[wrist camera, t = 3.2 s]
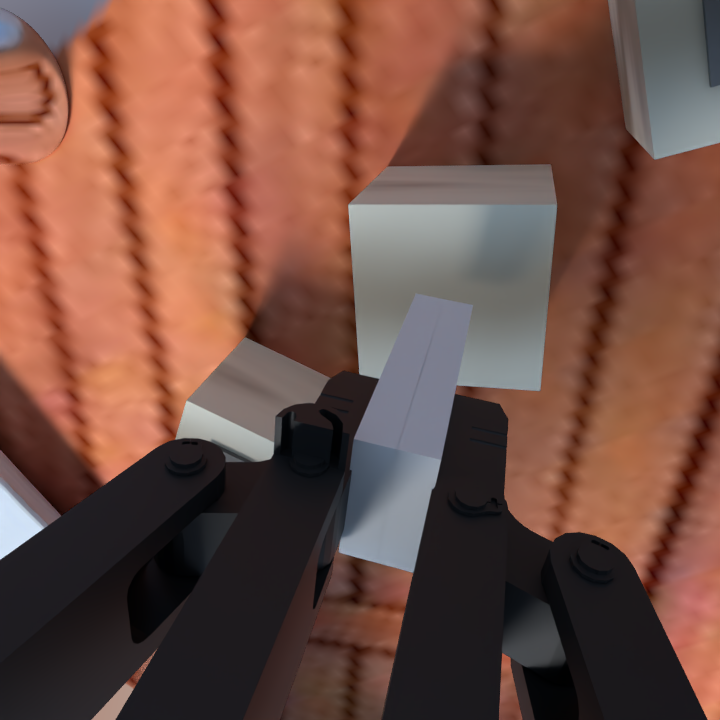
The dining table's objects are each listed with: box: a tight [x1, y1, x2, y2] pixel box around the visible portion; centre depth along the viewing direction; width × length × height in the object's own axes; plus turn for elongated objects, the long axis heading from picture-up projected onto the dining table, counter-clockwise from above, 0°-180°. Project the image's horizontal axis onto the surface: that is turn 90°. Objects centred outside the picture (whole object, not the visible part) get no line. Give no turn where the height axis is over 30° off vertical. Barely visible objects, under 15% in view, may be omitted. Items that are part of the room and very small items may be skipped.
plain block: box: [348, 164, 557, 391], centre depth 22 cm, size 6×6×6 cm
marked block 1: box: [175, 337, 331, 462], centre depth 28 cm, size 6×6×6 cm
